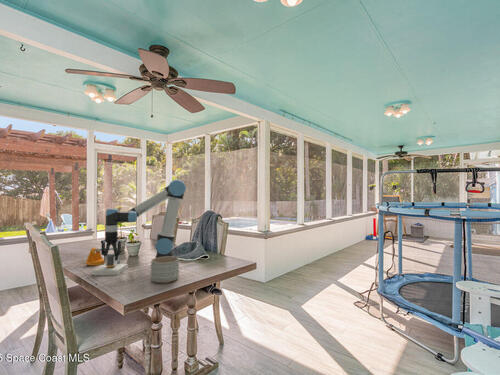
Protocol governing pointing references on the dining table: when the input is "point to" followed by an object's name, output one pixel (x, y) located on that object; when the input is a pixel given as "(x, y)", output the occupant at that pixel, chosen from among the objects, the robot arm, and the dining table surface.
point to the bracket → (94, 258)
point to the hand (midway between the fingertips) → (110, 265)
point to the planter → (164, 269)
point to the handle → (111, 249)
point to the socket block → (110, 270)
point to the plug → (110, 260)
